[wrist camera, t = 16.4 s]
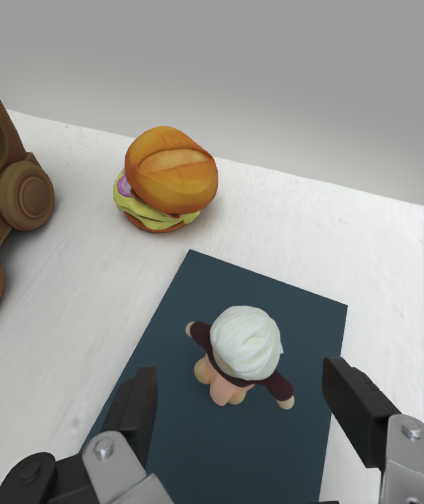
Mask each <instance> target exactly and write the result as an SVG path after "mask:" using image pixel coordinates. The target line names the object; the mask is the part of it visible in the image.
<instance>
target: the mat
mask: <svg viewBox="0 0 424 504" xmlns="http://www.w3.org/2000/svg"><path fill="white" fill-rule="evenodd" d="M232 306H250V307H255V308H259V309H261V310H263V311H264V312H266V313H267V314H268V316H269V317H270V318H272V319H273V320H274V321H275V323H276V325H277V327H278V329H279V332H280V342H281V344H282V348H283V352H284V353H281V354H280V358H279V361H278V364H277V366H276V368H275V370H277V371H278V372H279V373H280V374H281V375H282V376H284V377H285V378H286V379H288V380H289V381H290V383H291V384H292V386H293V388H294V395H293V396H294V405H293V406H292V407H291V408H290V409H283V408H281V407H280V406H279V405H278V403H277V400H276V399H275V398H274V397H273V396H272V394H271V393H270V392H269V391H268V389H267V388H266V386H263V385H258V384H255V385H254V386H253V387H252V388H250V389H249V390H247V392H246V395H245V398H244V400H243V401H242V402H241V403H239V404H236V405H233V404H230V403H228V402H227V403H226V404H225V405H224V406H220V405H218V404H216V403H215V402H214V401H213V399H212V397H211V395H210V385H211V383H210V384H203V383H201V382H200V381H199V380H198V379H197V378H196V376H195V373H194V367H195V364H196V363H197V362H198V361H199V360H200V359H202V358H203V357H205V356H206V351H205V350H204V349H203V348H202V347H200V346H199V345H198V344H197V343H196V342H195V341H194V339H193V338H192V337H189V336H188V335H187V333H186V326H187V325H188V324H189V323H190V322H196V321H202V322H204V323H207V324H211V325H213V323H214V322H215V320H216V319H217V318H218V317H219V316H220V315H221V314H222V313H223V312H224V311H225V310H227V309H228V308H230V307H232ZM347 307H348V305H345V304H342V303H339V302H337V301H334V300H331V299H328V298H325V297H323V296H320V295H317V294H314V293H311V292H309V291H306V290H303V289H300V288H297V287H295V286H292V285H289V284H286V283H283V282H281V281H278V280H275V279H272V278H269V277H267V276H264V275H261V274H258V273H255V272H253V271H250V270H247V269H244V268H241V267H239V266H236V265H233V264H230V263H227V262H225V261H222V260H219V259H216V258H213V257H211V256H208V255H205V254H202V253H199V252H196V251H194V250H191V249H190V250H189V251H188V253H187V255H186V257H185V259H184V261H183V262H182V264H181V266H180V268H179V270H178V272H177V273H176V275H175V277H174V279H173V281H172V283H171V284H170V286H169V288H168V290H167V292H166V293H165V295H164V297H163V299H162V301H161V303H160V304H159V306H158V308H157V310H156V312H155V314H154V315H153V317H152V319H151V321H150V323H149V325H148V326H147V328H146V330H145V332H144V334H143V336H142V337H141V339H140V341H139V343H138V345H137V347H136V348H135V350H134V352H133V354H132V356H131V358H130V359H129V361H128V363H127V365H126V367H125V368H124V370H123V372H122V374H121V376H120V378H119V379H118V381H117V383H116V385H115V387H114V389H113V390H112V392H111V394H110V396H109V398H108V400H107V401H106V403H105V405H104V407H103V409H102V411H101V412H100V414H99V416H98V418H97V420H96V422H95V423H94V425H93V427H92V429H91V431H90V433H89V434H88V436H87V438H86V440H85V442H84V443H83V445H82V447H81V449H80V451H79V453H81V452H82V451H83V450H84V448H85V446H86V445H87V443H88V442H89V441H90V440H91V439H92V438H94V437H95V436H97V435H98V434H100V431H101V429H102V426H103V424H104V421H105V419H106V417H107V414H108V412H109V409H110V407H111V405H112V402H113V400H114V397H115V395H116V392H117V390H118V387H119V386H120V385H121V384H122V383H123V382H124V381H125V380H126V379H127V378H135V376H136V373H137V370H138V367H139V366H149V365H155V366H156V376H157V389H158V405H157V412H156V417H155V422H154V428H153V433H152V438H151V443H150V449H149V454H148V459H147V464H146V469H145V472H146V473H147V474H148V475H149V474H151V473H154V474H155V475H156V476H157V478H158V479H159V481H160V482H161V484H162V485H163V487H164V488H165V490H166V492H167V493H168V495H169V496H170V498H171V499H172V501H173V502H174V504H306V503H311V502H318V501H319V494H320V488H321V481H322V474H323V468H324V461H325V454H326V448H327V441H328V434H329V428H330V421H331V414H332V411H331V409H330V408H329V406H328V405H327V403H326V401H325V399H324V397H323V394H322V387H321V386H322V371H323V360H324V358H325V357H340V354H341V347H342V341H343V334H344V327H345V321H346V314H347ZM79 453H78V454H79Z"/></svg>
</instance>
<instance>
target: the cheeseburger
mask: <svg viewBox="0 0 424 504" xmlns="http://www.w3.org/2000/svg"><path fill="white" fill-rule="evenodd" d="M217 188H218V170H217V167H216V164H215V161H214V159H213V157H212V156H211V155H210V154H209V153H208V152H207V151H205V150H204V149H203V148H201V147H200V146H199V145H197V144H196V143H195V142H194V141H193V140H192V139H191V138H189V137H188V136H187V135H186V134H184V133H183V132H181V131H179V130H177V129H175V128H172V127H167V126H159V127H155V128H152V129H150V130H148V131H146V132H144V133H143V134H142V135H140V136H139V137H138V138H137V139H136V140H135V141H134V142H133V143H132V144H131V145H130V147H129V148H128V150H127V153H126V155H125V167H124V169H123V170H122V172H121V173H120V174H119V176H118V177H117V179H116V181H115V184H114V186H113V195H114V201H115V203H116V205H117V206H118V208H119V209H120V210H123V211H124V213H125V214H126V216H127V218H128V219H129V220H130V221H131V222H132V223H134V224H135V225H136V226H138V227H139V228H140V229H144V230H147V231H151V232H154V233H160V232H169V231H174V230H176V229H178V228H181V227H183V226H185V225H187V224H188V223H191V222H192V221H193V220H194V219H195V218H196V217H197V216H198V215H199V214H200V212H201V209H203V208H205V207H206V206H207V205H208V204H209V203H210V202H211V201H212V200H213V199H214V197H215V195H216V192H217Z"/></svg>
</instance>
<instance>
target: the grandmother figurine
mask: <svg viewBox="0 0 424 504" xmlns="http://www.w3.org/2000/svg"><path fill="white" fill-rule="evenodd" d="M186 333H187V335H188V336H189V337H192V338H193V339H194V341H195V342H196V343H197V344H198V345H199V346H200V347H202V348H203V349H204V350H205V351H206V356H205V357H203V358H202V359H200V360H199V361H198V362H197V363H196V364H195V367H194V373H195V376H196V378H197V379H198V380H199V381H200V382H201V383H203V384H210V383H211V385H210V395H211V397H212V399H213V401H214V402H215V403H216V404H218V405H220V406H224V405H225V404H226V403H227V402H228V403H230V404H233V405H236V404H239V403H241V402H242V401H243V400H244V398H245V395H246V392H247V390H249V389H250V388H252V387H253V386H254V385H255V384H258V385H263V386H266V388H267V389H268V391H269V392H270V393H271V394H272V396H273V397H274V398H275V399H276V400H277V403H278V405H279V406H280V407H281V408H283V409H290V408H291V407H292V406H293V405H294V396H293V395H294V388H293V386H292V384H291V383H290V381H289V380H288V379H286V378H285V377H284V376H282V375H281V374H280V373H279V372H278V371H277V370H275V368H276V366H277V364H278V361H279V358H280V354H281V353H284V352H283V348H282V344H281V342H280V332H279V329H278V327H277V325H276V323H275V321H274V320H273V319H272V318H270V317H269V316H268V314H267V313H266V312H264V311H263V310H261V309H259V308H255V307H250V306H232V307H230V308H228V309H227V310H225V311H224V312H223V313H222V314H221V315H220V316H219V317H218V318H217V319H216V320H215V322H214V323H213V325H211V324H207V323H204V322H202V321H196V322H190V323H189V324H188V325H187V326H186Z"/></svg>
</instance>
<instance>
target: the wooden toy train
mask: <svg viewBox="0 0 424 504" xmlns="http://www.w3.org/2000/svg"><path fill="white" fill-rule="evenodd" d="M54 202H55V200H54V189H53V185H52V183H51V181H50V179H49V177H48V175H47V174H46V173H45V172H44V170H43V169H42V167H41V166H40V164H39V163H38V161H37V160H36V158H35V156H34V155H33V153H32V152H25V149H24V147H23V144H22V142H21V140H20V137H19V135H18V132H17V130H16V128H15V126H14V124H13V123H12V121H11V119H10V117H9V115H8V113H7V111H6V109H5V108H4V106H3V104H2V102H1V100H0V245H1V244H2V242H3V241H4V239H5V238H6V236H7V235H8V233H9V232H10V230H11V229H12V227H14V228H15V229H18V230H22V231H30V230H34V229H37V228H39V227H40V226H42V225H44V224H45V222H46V221H47V220H48V219H49V217H50V215H51V213H52V211H53V207H54ZM4 285H5V279H4V271H3V269H2V266H1V263H0V299H1V297H2V294H3V290H4Z"/></svg>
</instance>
